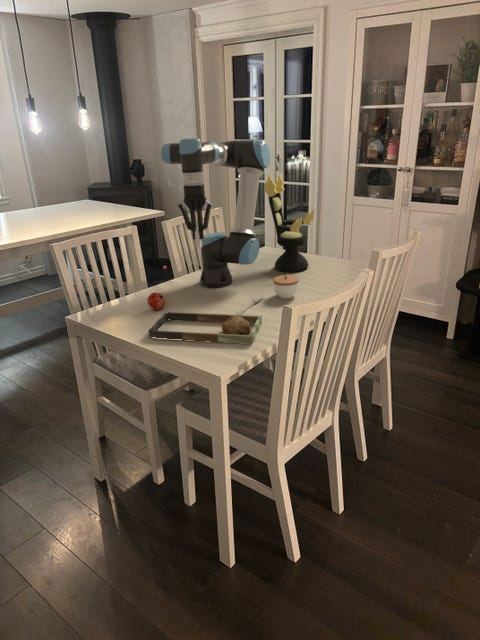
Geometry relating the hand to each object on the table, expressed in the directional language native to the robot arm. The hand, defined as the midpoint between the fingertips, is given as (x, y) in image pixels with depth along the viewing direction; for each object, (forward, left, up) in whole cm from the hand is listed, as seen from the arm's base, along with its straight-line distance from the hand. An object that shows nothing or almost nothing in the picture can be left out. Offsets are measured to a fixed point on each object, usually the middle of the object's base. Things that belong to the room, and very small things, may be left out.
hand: (199, 247), depth 183 cm
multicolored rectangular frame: (+18, +6, -26) cm, 33 cm away
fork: (-8, +17, -27) cm, 33 cm away
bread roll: (+18, +17, -27) cm, 36 cm away
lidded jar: (-20, +30, -27) cm, 45 cm away
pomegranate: (-1, -21, -27) cm, 34 cm away
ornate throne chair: (-60, +25, -27) cm, 70 cm away
